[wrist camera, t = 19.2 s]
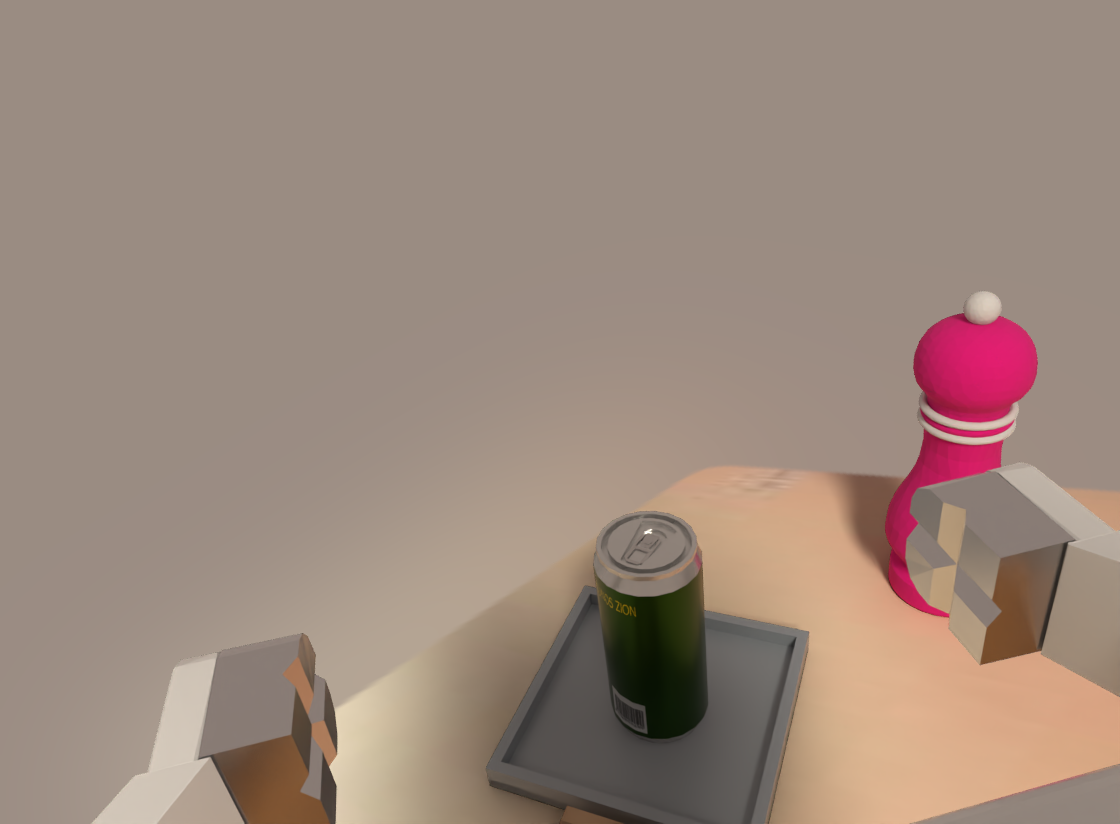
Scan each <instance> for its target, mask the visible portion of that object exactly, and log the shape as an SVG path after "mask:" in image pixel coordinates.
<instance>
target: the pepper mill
mask: <svg viewBox="0 0 1120 824" xmlns="http://www.w3.org/2000/svg"><path fill="white" fill-rule="evenodd" d="M963 308H964V310H963V311H964V313H962V314H957V315H953V316H950V317H947V318H945V319H943V320H941V321H939V322H938V323H936V324H934V325H933V326H932V327H931V328H929V329H928V330H927V332H926V333H925V334H924V336H923V337H922V338H921V340H920V341H919V344H918V346H917V349H916V352H915V356H914V366H913V369H914V375H915V378H916V381H917V383H918V385H919V386H920V388H921V389H922V390H923V392H922V393H921V395H920V397H919V406H920V407H919V409H918V412H917V418H918V421H919V423H920V424H921V426H922V427H923V428H924V439H923V443H922V447H921V451H920V455H919V457H918V460H917V462H916V464H915V466H914V467H913V469H912V470H911V472H910V473H909V475H908V476H907V477H906V479H905V480H904V481H903V482H902V484H901V485H900V486H899V488H898V489H897V491H896V492H895V494H894V496H893V498H892V500H891V502H890V504H889V508H888V512H887V517H886V522H885V532H886V536H887V539H888V542H889V544H890V546H891V547H892V550H891V554H890V563H889V572H888V577H889V581H890V584H891V586H892V588H893V590H894V591H895V592H896V593H897V594H898V596H899V597H900V598H901V599H903V600H904V601H905V602H906V603H908V604H909V605H911V606H913V607H915V608H917V609H919V610H921V611H923V612H926V613H929V614H933V615H936V616H943V617H949V614H948V613H946V612H944V611H941V610H939V609H937V608H934V607H932V606H930V605H928V603H927V602H926V601H925V600H924V599H923V597H922V596H921V595H920V594H919V592H918V591H917V589H916V587H915V585H914V583H913V582H912V580H911V578H910V574H909V570H908V567H907V563H906V559H905V556H906V541H907V538H908V536H909V535H910V534H911V532H912V531H913V530H914V528H915V527H916V526H917V525H918V522H917V520H916V519H915V518H914V517H913V516H912V515H911V514H910V507H911V500H912V496H913V495H914V493H915V491H916V490H917V488H921V487H925V486H929V485H933V484H937V483H941V482H945V481H949V480H953V479H957V478H962V477H966V476H970V475H974V474H978V473H984V472H986V471H988V470H992V469H996V468H1000V467H1001V448H1002V444H1003V440H1004V439H1005V438H1007V437H1008V436H1010V435H1011V434H1012V433H1013V431H1014V430H1015V427H1016V419H1015V418H1016V417H1017V415H1018V412H1019V407H1018V403H1017V401H1018V400H1020V399H1021V398H1022V397H1023V396H1024V395H1025V394H1026V393H1027V392H1028V391H1029V390H1030V389H1031V387H1032V385H1033V383H1034V381H1035V378H1036V374H1037V365H1038V361H1037V354H1036V348H1035V345H1034V344H1033V341H1032V339H1031V338H1030V336H1029V335H1028V334H1027V332H1026V331H1025V330H1024V329H1023V328H1021V327H1020V326H1019V325H1017V324H1016V323H1014V322H1012V321H1010V320H1008V319H1006V318H1004V317H1001V316H999V315H1000V313H1001V308H1002V307H1001V302H1000V300H999V298H998V297H997V296H996V295H995V294H993V293H991V292H987V291H979V292H976V293H974V294H972V295H970V296H969V297H968V298H967V300H966V301H965V304H964V307H963Z"/></svg>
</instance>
